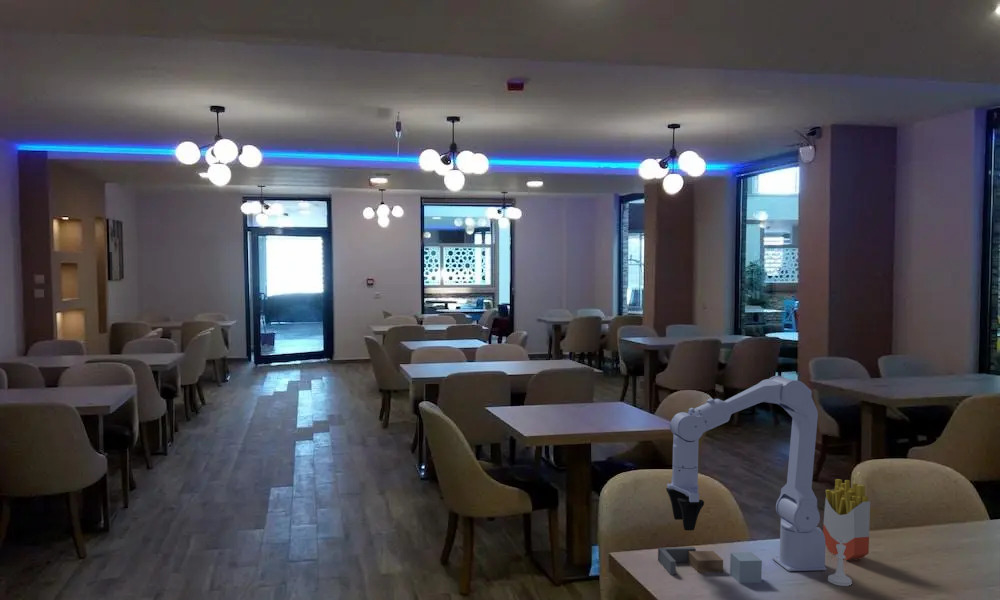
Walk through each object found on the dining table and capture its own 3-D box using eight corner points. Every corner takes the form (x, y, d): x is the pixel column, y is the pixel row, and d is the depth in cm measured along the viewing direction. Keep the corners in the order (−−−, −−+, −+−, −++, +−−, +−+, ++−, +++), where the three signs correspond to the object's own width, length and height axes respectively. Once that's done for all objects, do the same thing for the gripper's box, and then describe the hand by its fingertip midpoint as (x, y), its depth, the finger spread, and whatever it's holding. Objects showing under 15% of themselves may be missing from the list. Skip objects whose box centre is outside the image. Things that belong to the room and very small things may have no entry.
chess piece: (854, 587, 164) (856, 541, 164) (830, 584, 165) (831, 539, 165) (848, 578, 169) (850, 534, 169) (825, 576, 170) (826, 532, 170)
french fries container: (852, 565, 177) (854, 489, 177) (821, 549, 188) (823, 477, 187) (868, 563, 178) (870, 488, 178) (836, 547, 189) (839, 476, 188)
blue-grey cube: (751, 574, 170) (751, 552, 170) (761, 583, 165) (761, 560, 165) (729, 574, 170) (730, 552, 170) (739, 583, 165) (739, 561, 165)
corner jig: (693, 559, 179) (693, 547, 178) (707, 573, 170) (708, 560, 170) (657, 560, 178) (658, 547, 178) (670, 574, 169) (670, 561, 169)
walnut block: (712, 563, 177) (713, 550, 177) (722, 573, 171) (723, 560, 171) (688, 563, 177) (688, 551, 176) (697, 573, 171) (697, 560, 170)
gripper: (659, 458, 180) (658, 514, 180) (677, 473, 165) (675, 535, 166) (688, 458, 180) (687, 514, 180) (708, 473, 166) (707, 534, 166)
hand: (683, 524), depth 173 cm, fingers open, 7 cm apart
